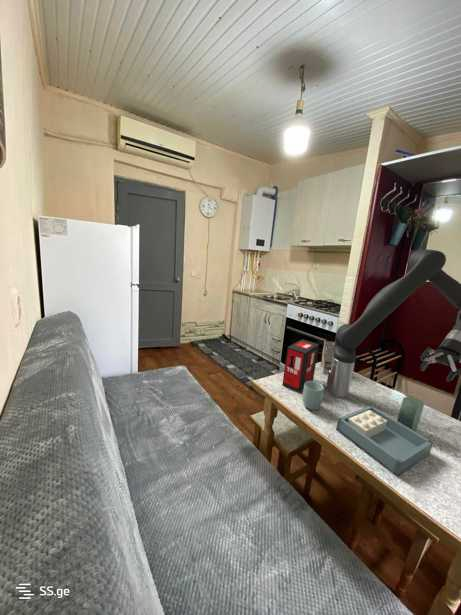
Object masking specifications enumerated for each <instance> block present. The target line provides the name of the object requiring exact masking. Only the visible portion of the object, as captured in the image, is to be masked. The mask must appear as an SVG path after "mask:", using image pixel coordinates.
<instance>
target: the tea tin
mask: <svg viewBox="0 0 461 615" xmlns="http://www.w3.org/2000/svg"><path fill="white" fill-rule="evenodd" d="M424 406H425V401H423V400H421V399H419V398H416V397H414V396H413V395H410V394H409V395H408V396H405V397H403V398H402V402H401V405H400V409H399V412H398V417H397V420H396V421H398V422H399V423H401V424H403V425H405V426H406V427H408V428H410V429H411V430H413V431H415V432H416V433H417V431H418V428H419V425H420V424H419V423H420V420H421V416H422V413H423V410H424Z"/></svg>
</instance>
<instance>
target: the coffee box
mask: <svg viewBox="0 0 461 615" xmlns="http://www.w3.org/2000/svg"><path fill="white" fill-rule="evenodd" d="M323 342H324V343H323V344H324V345H323V349H322V354H321V355H322V356H321V361H320V369H321V372H322V374H325V375H328V373H329V371H330V370H331V367H332V362H333V356H334V344H335V341H329V340H324V341H323Z"/></svg>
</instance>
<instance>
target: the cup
mask: <svg viewBox="0 0 461 615" xmlns="http://www.w3.org/2000/svg"><path fill="white" fill-rule="evenodd" d="M302 391H303V392H302V403H303V406H304V407H306V408H307V409H308V410H312V411H313V410H314V411H315V410H318V409H319V408H320V406H321V405H322V402H323V398H324V397H323V396H324V392H325V387H324V386H323V384H321V383H320V382H317V381H314V380H313V381H307V382H305V384H304V389H303V390H302Z"/></svg>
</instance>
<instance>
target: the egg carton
mask: <svg viewBox="0 0 461 615" xmlns="http://www.w3.org/2000/svg"><path fill="white" fill-rule="evenodd" d="M348 423H349V424H350V425H352V426H353V427H355V428H356V429H357V430H359V431H360V432H362V433H363V434H364V435H366V436H367V437H369V438H370V437H372V436H374V435H376V434H378V433H380V432H382V431H384V430H385V428H386V424H387V420H385V419H383V418H382V417H381V416H379V415H377V414H375V413H374V412H373V411H371V410H368V411H366V412H363V413H361V414H358V415H356V416H353V417H351V418H349V419H348Z"/></svg>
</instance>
